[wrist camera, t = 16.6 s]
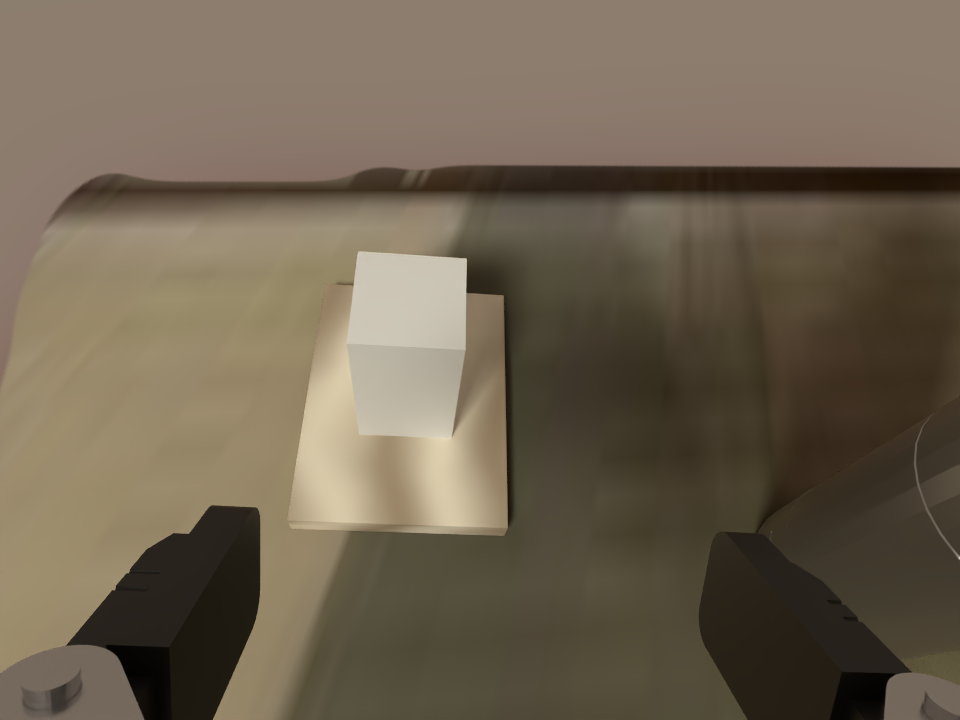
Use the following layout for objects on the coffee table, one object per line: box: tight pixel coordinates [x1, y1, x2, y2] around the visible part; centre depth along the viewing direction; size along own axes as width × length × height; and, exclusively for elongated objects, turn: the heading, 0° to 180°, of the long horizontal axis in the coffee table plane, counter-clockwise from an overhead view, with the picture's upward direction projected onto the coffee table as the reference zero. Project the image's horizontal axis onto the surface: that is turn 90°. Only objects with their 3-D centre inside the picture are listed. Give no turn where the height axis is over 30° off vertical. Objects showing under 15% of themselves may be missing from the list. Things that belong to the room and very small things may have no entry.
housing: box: [347, 251, 467, 438], centre depth 35 cm, size 5×5×10 cm
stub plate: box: [287, 284, 508, 536], centre depth 38 cm, size 12×16×6 cm
